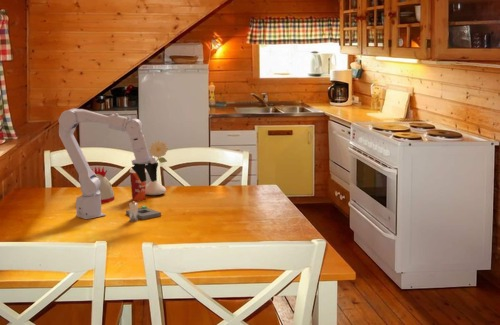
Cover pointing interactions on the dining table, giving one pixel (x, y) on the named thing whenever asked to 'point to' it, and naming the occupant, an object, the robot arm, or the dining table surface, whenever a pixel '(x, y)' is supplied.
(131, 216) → the battery cell
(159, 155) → the flower in vase
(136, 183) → the paper cup
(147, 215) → the block
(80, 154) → the robot arm
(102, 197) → the kitchen timer
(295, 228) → the dining table surface
